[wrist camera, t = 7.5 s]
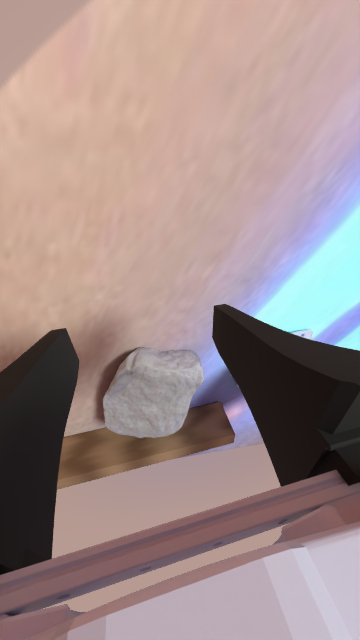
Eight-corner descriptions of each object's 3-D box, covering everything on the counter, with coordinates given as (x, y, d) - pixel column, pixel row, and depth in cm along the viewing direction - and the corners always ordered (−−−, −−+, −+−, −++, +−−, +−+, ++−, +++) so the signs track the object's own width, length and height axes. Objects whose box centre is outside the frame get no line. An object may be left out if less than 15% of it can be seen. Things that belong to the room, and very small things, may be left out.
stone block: (105, 402, 29) (176, 414, 31) (94, 435, 25) (177, 448, 26) (120, 329, 24) (204, 348, 26) (109, 354, 20) (210, 376, 21)
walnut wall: (220, 401, 31) (235, 434, 27) (219, 409, 32) (233, 442, 28) (43, 441, 27) (29, 487, 23) (49, 449, 28) (37, 494, 24)
